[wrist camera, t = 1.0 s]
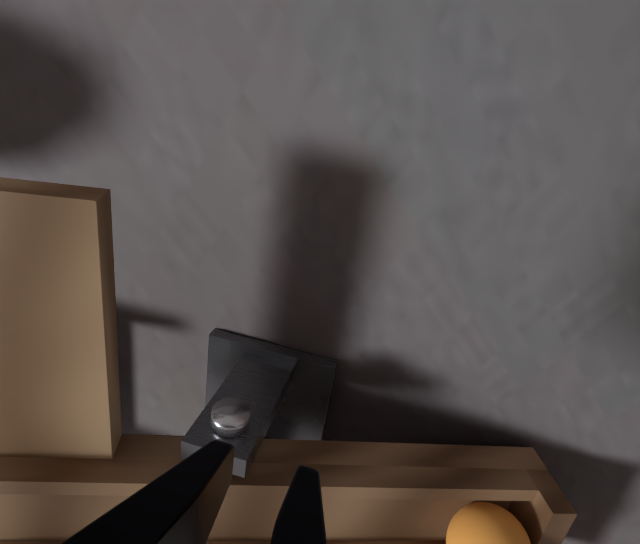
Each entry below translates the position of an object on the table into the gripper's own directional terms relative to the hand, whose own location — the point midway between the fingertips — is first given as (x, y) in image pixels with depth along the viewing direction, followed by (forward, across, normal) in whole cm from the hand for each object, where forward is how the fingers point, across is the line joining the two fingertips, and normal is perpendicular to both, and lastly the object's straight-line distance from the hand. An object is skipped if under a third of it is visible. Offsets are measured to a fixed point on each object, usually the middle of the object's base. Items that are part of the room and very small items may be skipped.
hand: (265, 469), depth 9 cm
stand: (+11, +3, +9) cm, 15 cm away
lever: (+7, +1, +4) cm, 8 cm away
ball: (+7, -8, +9) cm, 14 cm away
